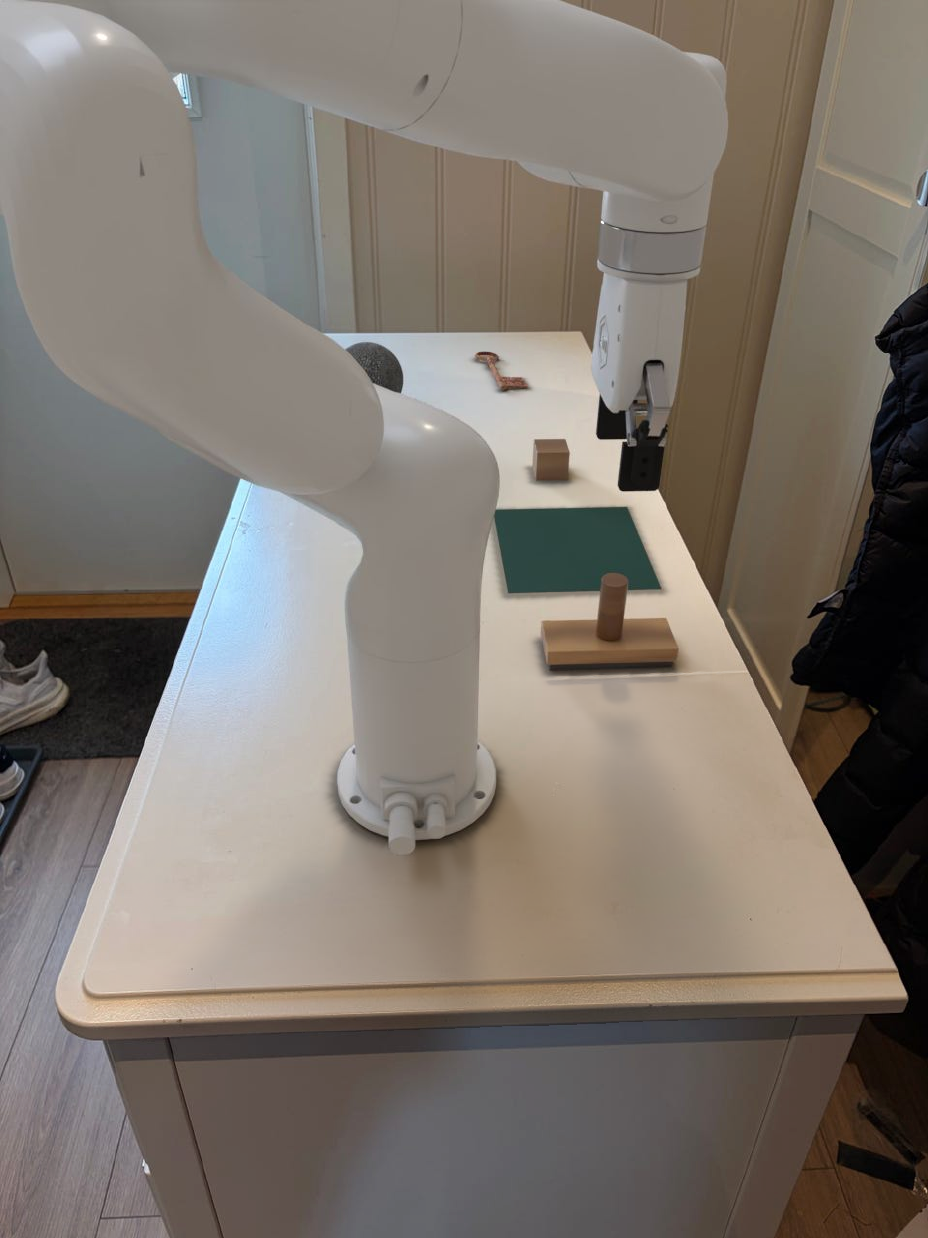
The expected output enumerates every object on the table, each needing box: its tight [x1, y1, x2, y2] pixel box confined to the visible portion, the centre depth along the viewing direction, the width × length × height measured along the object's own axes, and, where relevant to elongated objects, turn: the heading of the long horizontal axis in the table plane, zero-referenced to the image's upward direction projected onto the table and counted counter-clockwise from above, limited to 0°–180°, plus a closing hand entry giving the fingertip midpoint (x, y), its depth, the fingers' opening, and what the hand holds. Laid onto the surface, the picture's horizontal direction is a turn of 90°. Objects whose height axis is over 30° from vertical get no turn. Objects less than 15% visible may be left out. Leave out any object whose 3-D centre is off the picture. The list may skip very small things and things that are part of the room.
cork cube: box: [531, 438, 571, 481], centre depth 123 cm, size 4×4×4 cm
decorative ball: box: [344, 341, 404, 394], centre depth 137 cm, size 10×10×10 cm
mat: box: [493, 506, 662, 594], centre depth 109 cm, size 18×16×1 cm
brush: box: [540, 573, 679, 671], centre depth 91 cm, size 5×12×8 cm, turn 93°
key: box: [474, 351, 528, 391], centre depth 153 cm, size 6×1×15 cm
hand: (625, 462), depth 82 cm, fingers open, 9 cm apart
